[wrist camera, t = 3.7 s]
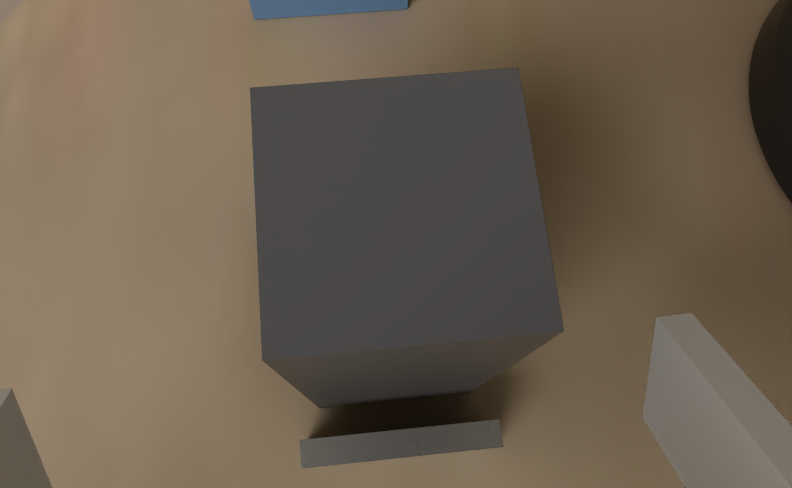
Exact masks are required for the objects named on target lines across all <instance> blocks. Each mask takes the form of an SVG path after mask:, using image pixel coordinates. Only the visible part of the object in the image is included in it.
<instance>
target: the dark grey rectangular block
mask: <svg viewBox="0 0 792 488" xmlns="http://www.w3.org/2000/svg"><path fill="white" fill-rule="evenodd" d="M250 96H251V118H252V141H253V163H254V185H255V207H256V229H257V251H258V273H259V295H260V317H261V340H262V361H264V362H265V363H266V364H267V365H268V366H270V367H271V368H272V369H273V370H274V371H276V372H277V373H278V374H279V375H280V376H282V377H283V378H284V379H285V380H286V381H288V382H289V383H290V384H291V385H292V386H294V387H295V388H296V389H297V390H298V391H300V392H301V393H302V394H303V395H304V396H306V397H307V398H308V399H309V400H310V401H312V402H313V403H314V404H315V405H316V406H318V407H319V408H327V407H337V406H347V405H357V404H367V403H376V402H386V401H396V400H406V399H416V398H425V397H435V396H445V395H455V394H465V393H471V392H472V391H474V390H475V389H477V388H478V387H480V386H481V385H483V384H484V383H486V382H487V381H489V380H490V379H492V378H493V377H495V376H496V375H498V374H499V373H501V372H503V371H504V370H506V369H507V368H509V367H510V366H512V365H513V364H515V363H516V362H518V361H519V360H521V359H522V358H524V357H525V356H527V355H528V354H530V353H531V352H533V351H534V350H536V349H537V348H539V347H541V346H542V345H544V344H545V343H547V342H548V341H550V340H551V339H553V338H554V337H556V336H557V335H559V334H560V333H562V332H563V331H564V328H563V322H562V317H561V311H560V305H559V299H558V294H557V288H556V282H555V276H554V271H553V265H552V259H551V253H550V247H549V242H548V236H547V230H546V224H545V219H544V213H543V207H542V201H541V196H540V190H539V184H538V178H537V173H536V167H535V161H534V155H533V150H532V144H531V138H530V132H529V126H528V121H527V115H526V109H525V103H524V98H523V92H522V86H521V80H520V75H519V69H518V68H507V69H493V70H480V71H467V72H454V73H440V74H427V75H414V76H401V77H387V78H374V79H361V80H347V81H334V82H321V83H308V84H294V85H281V86H268V87H254V88H250Z"/></svg>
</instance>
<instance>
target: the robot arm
mask: <svg viewBox="0 0 792 488" xmlns="http://www.w3.org/2000/svg"><path fill="white" fill-rule="evenodd" d="M749 96H750V106H751V113H752V119H753V123H754V127H755V131H756V134H757V137H758V140H759V144H760V146H761V149H762V151H763V154H764V156H765V159H766V161H767V163H768V165H769V167H770V169H771V171H772V173H773V174H774V176H775V178H776V180H777V181H778V183H779V185H780V186H781V188H782V189H783V191H784V192H785V194H786V195H787V197H788V198H789V200H790V201H791V202H792V0H779V1H778V3H777V4H776V5H775V7H774V8H773V9H772V10H771V12H770V14H769V15H768V17H767V19H766V20H765V22H764V24H763V26H762V28H761V30H760V33H759V35H758V38H757V40H756V43H755V47H754V50H753V54H752V60H751V65H750V75H749ZM643 419H644V421H645V423H646V424H647V426H648V428H649V429H650V431H651V433H652V434H653V436H654V437H655V439H656V441H657V442H658V444H659V446H660V447H661V449H662V450H663V452H664V454H665V455H666V457H667V459H668V460H669V462H670V463H671V465H672V467H673V468H674V470H675V472H676V473H677V475H678V476H679V478H680V480H681V481H682V483H683V485H684V486H685V488H792V426H791V425H790V424H789V423H788V422H787V420H786V419H785V418H784V417H783V416H782V415H781V414H780V412H779V411H778V410H777V409H776V408H775V407H774V406H773V405H772V403H771V402H770V401H769V400H768V399H767V398H766V397H765V395H764V394H763V393H762V392H761V391H760V390H759V389H758V388H757V386H756V385H755V384H754V383H753V382H752V381H751V380H750V378H749V377H748V376H747V375H746V374H745V373H744V372H743V371H742V369H741V368H740V367H739V366H738V365H737V364H736V363H735V361H734V360H733V359H732V358H731V357H730V356H729V355H728V354H727V352H726V351H725V350H724V349H723V348H722V347H721V346H720V344H719V343H718V342H717V341H716V340H715V339H714V338H713V337H712V335H711V334H710V333H709V332H708V331H707V330H706V329H705V327H704V326H703V325H702V324H701V323H700V322H699V321H698V320H697V318H696V317H695V316H694V315H693V314H692V313H686V314H677V315H668V316H659V317H656V323H655V330H654V337H653V345H652V352H651V359H650V367H649V374H648V381H647V389H646V396H645V403H644V411H643ZM0 488H52V486H51V483H50V481H49V478H48V476H47V474H46V471H45V469H44V466H43V464H42V461H41V459H40V456H39V454H38V451H37V449H36V446H35V444H34V442H33V439H32V437H31V434H30V432H29V429H28V427H27V424H26V422H25V419H24V417H23V415H22V412H21V410H20V407H19V405H18V402H17V400H16V397H15V395H14V392H13V390H12V388H11V389H2V390H0Z"/></svg>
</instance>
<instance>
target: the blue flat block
mask: <svg viewBox="0 0 792 488" xmlns="http://www.w3.org/2000/svg"><path fill="white" fill-rule="evenodd" d="M249 1H250V5H251V9H252V12H253V16H254V19H255V20H257V19H271V18H286V17H300V16H314V15H329V14H343V13H358V12H372V11H386V10H401V9H407V7H408V0H249ZM253 168H254V164H253ZM254 186H255V185H254Z"/></svg>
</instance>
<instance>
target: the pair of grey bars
mask: <svg viewBox="0 0 792 488" xmlns="http://www.w3.org/2000/svg"><path fill="white" fill-rule="evenodd" d="M496 447H503V440H502V433H501V426H500V419H496V420H487V421H477V422H468V423H458V424H448V425H439V426H429V427H420V428H410V429H401V430H391V431H381V432H372V433H362V434H353V435H343V436H333V437H324V438H314V439H305V440H300V451H301V468H309V467H318V466H327V465H337V464H346V463H355V462H365V461H374V460H384V459H393V458H402V457H412V456H421V455H430V454H440V453H449V452H459V451H468V450H477V449H487V448H496Z"/></svg>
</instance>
